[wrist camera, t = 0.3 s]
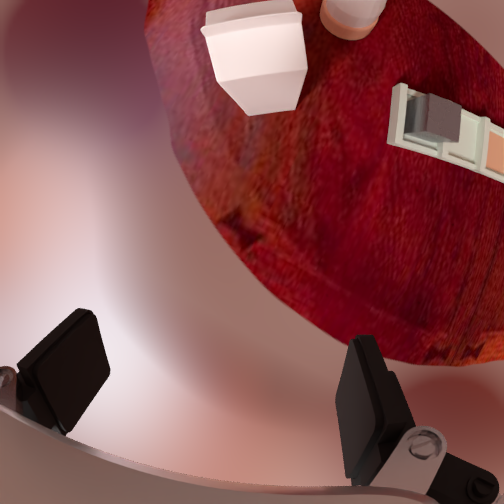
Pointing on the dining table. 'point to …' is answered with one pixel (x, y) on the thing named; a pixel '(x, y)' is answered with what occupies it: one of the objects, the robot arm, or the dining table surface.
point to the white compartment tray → (463, 153)
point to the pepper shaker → (351, 17)
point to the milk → (258, 54)
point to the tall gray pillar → (433, 119)
